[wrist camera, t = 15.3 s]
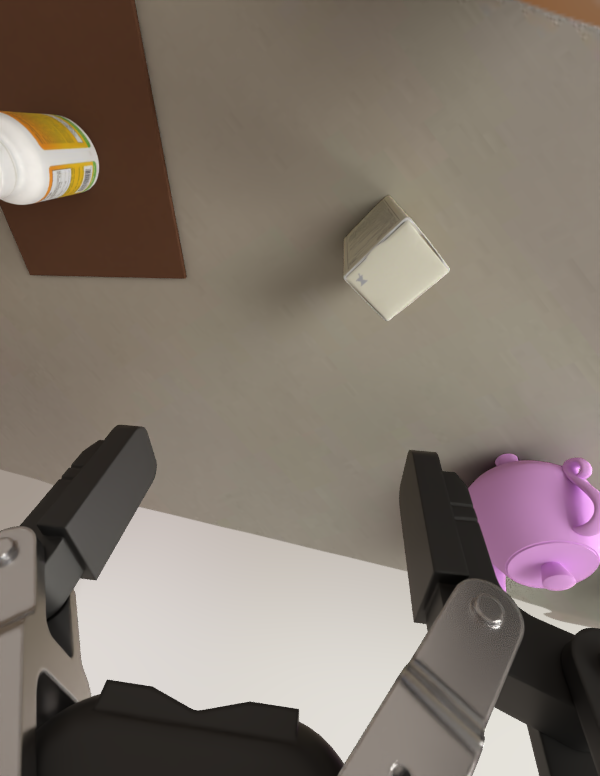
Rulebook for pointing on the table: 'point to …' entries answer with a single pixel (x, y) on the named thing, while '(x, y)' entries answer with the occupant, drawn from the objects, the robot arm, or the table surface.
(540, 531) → the teapot
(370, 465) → the table surface
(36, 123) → the supplement bottle
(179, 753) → the robot arm
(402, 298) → the box
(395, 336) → the table surface
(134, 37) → the mat
